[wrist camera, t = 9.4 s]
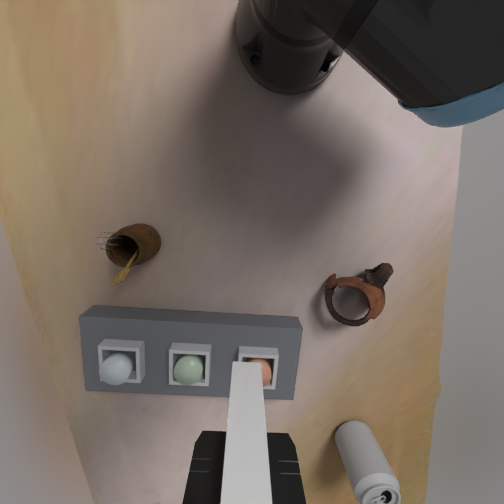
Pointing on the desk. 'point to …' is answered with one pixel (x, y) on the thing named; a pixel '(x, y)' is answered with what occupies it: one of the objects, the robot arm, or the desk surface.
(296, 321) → the console
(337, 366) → the desk surface
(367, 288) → the dark brown curved piece
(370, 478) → the can
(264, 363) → the terracotta button
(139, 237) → the utensil holder
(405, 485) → the desk surface
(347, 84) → the desk surface
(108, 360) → the pale blue button
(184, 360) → the sage button
